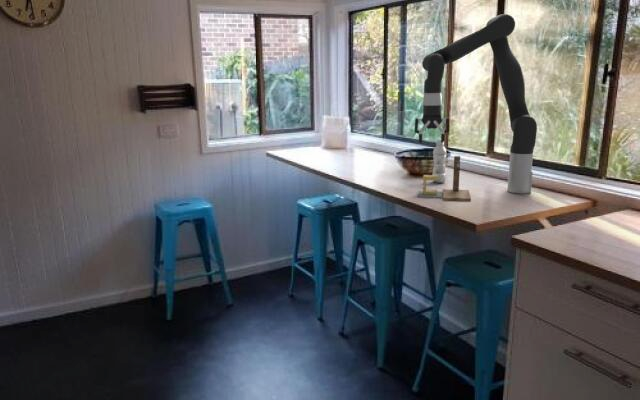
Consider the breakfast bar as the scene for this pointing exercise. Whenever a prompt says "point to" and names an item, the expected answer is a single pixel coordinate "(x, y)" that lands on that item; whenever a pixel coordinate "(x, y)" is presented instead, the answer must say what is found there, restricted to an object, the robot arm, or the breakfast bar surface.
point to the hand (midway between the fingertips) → (431, 142)
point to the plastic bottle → (439, 162)
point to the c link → (425, 177)
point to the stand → (456, 186)
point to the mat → (420, 194)
